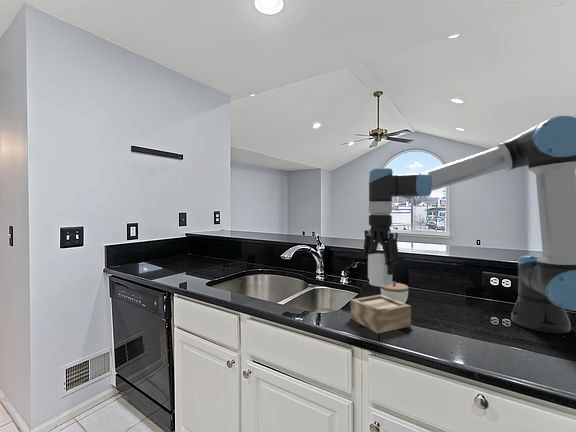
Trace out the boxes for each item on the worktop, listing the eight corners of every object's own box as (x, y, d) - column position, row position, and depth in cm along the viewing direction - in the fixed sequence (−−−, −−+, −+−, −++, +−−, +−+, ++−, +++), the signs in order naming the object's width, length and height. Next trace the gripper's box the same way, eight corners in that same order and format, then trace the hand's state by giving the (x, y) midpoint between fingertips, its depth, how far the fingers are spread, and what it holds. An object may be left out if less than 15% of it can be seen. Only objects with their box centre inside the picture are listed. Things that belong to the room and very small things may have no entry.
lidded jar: (407, 302, 124) (407, 279, 124) (409, 310, 114) (409, 286, 113) (380, 299, 127) (380, 277, 127) (379, 307, 117) (379, 283, 117)
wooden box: (410, 326, 99) (411, 305, 99) (377, 333, 93) (377, 311, 93) (381, 312, 111) (381, 294, 111) (350, 318, 106) (350, 299, 106)
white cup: (364, 281, 105) (364, 253, 105) (386, 281, 106) (386, 253, 106) (372, 287, 98) (372, 257, 97) (395, 287, 98) (396, 256, 98)
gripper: (412, 214, 93) (411, 287, 94) (369, 213, 112) (368, 273, 113) (393, 215, 90) (393, 289, 91) (352, 213, 109) (352, 275, 110)
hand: (379, 280), depth 102 cm, fingers closed on white cup, 8 cm apart
